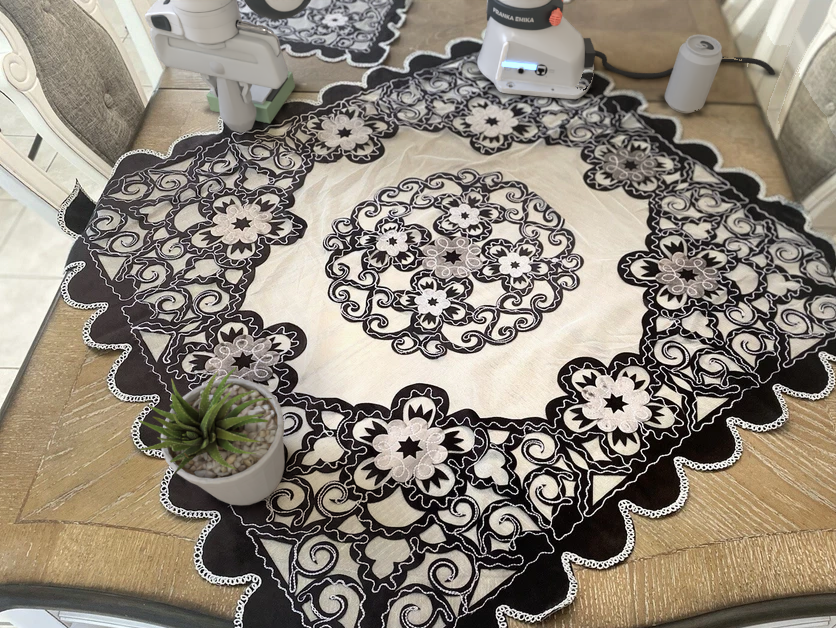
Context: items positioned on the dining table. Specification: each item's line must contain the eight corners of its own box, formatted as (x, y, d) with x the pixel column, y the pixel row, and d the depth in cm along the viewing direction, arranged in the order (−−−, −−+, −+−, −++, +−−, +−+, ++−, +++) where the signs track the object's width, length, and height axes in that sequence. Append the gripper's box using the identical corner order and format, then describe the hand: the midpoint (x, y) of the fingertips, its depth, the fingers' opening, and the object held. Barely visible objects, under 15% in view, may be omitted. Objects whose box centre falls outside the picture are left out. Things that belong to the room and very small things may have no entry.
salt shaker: (263, 115, 115) (244, 44, 104) (254, 137, 112) (233, 66, 101) (229, 112, 115) (207, 40, 104) (219, 133, 112) (195, 62, 101)
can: (711, 107, 126) (734, 48, 116) (682, 120, 124) (704, 60, 114) (683, 86, 130) (704, 26, 120) (654, 98, 127) (673, 38, 117)
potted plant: (191, 428, 84) (132, 336, 67) (304, 424, 85) (273, 332, 69) (174, 525, 77) (103, 450, 60) (296, 520, 78) (260, 444, 62)
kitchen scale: (295, 86, 122) (291, 68, 119) (270, 123, 116) (265, 105, 113) (238, 74, 123) (233, 56, 120) (210, 110, 117) (205, 92, 114)
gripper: (284, 16, 98) (301, 99, 110) (155, -9, 100) (185, 75, 112) (266, 40, 95) (285, 123, 106) (133, 14, 97) (166, 97, 108)
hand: (233, 98), depth 109 cm, fingers closed on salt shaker, 3 cm apart
